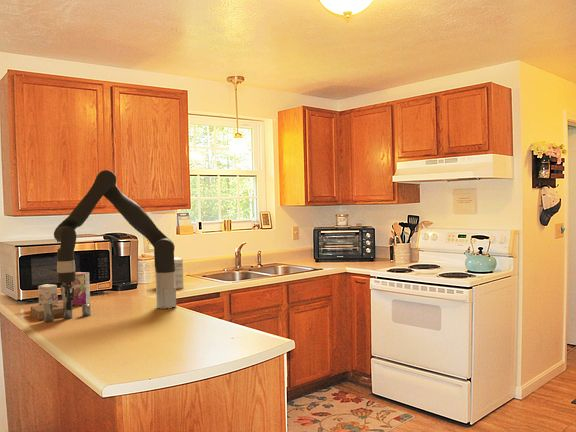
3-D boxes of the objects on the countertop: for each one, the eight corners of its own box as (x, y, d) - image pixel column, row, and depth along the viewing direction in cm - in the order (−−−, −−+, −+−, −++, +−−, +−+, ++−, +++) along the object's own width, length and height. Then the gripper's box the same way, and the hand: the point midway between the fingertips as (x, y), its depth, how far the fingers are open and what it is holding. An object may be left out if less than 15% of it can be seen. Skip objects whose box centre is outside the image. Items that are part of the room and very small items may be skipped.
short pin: (91, 315, 232) (91, 304, 232) (83, 316, 230) (83, 305, 230) (89, 314, 235) (88, 303, 235) (81, 315, 233) (80, 304, 233)
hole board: (72, 315, 233) (71, 306, 233) (38, 320, 225) (38, 311, 224) (62, 310, 246) (62, 302, 246) (30, 315, 237) (30, 306, 237)
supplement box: (157, 287, 311) (156, 258, 310) (179, 285, 316) (178, 257, 316) (161, 290, 299) (160, 260, 298) (184, 288, 304) (183, 258, 304)
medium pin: (54, 321, 222) (53, 303, 222) (45, 322, 220) (44, 304, 220) (52, 319, 225) (51, 301, 225) (43, 321, 223) (42, 303, 223)
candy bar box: (65, 305, 258) (63, 273, 258) (70, 303, 263) (69, 272, 262) (86, 305, 257) (84, 273, 256) (90, 303, 262) (89, 272, 261)
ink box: (38, 309, 251) (37, 285, 251) (47, 307, 255) (46, 283, 255) (49, 310, 247) (48, 286, 247) (58, 308, 251) (57, 284, 251)
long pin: (73, 318, 227) (72, 291, 227) (64, 319, 225) (63, 292, 225) (71, 317, 230) (70, 290, 230) (62, 318, 228) (61, 291, 227)
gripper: (79, 271, 224) (81, 310, 224) (70, 268, 235) (72, 305, 235) (61, 273, 219) (63, 312, 219) (53, 270, 230) (54, 308, 231)
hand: (67, 309), depth 227 cm, fingers closed on long pin, 3 cm apart
